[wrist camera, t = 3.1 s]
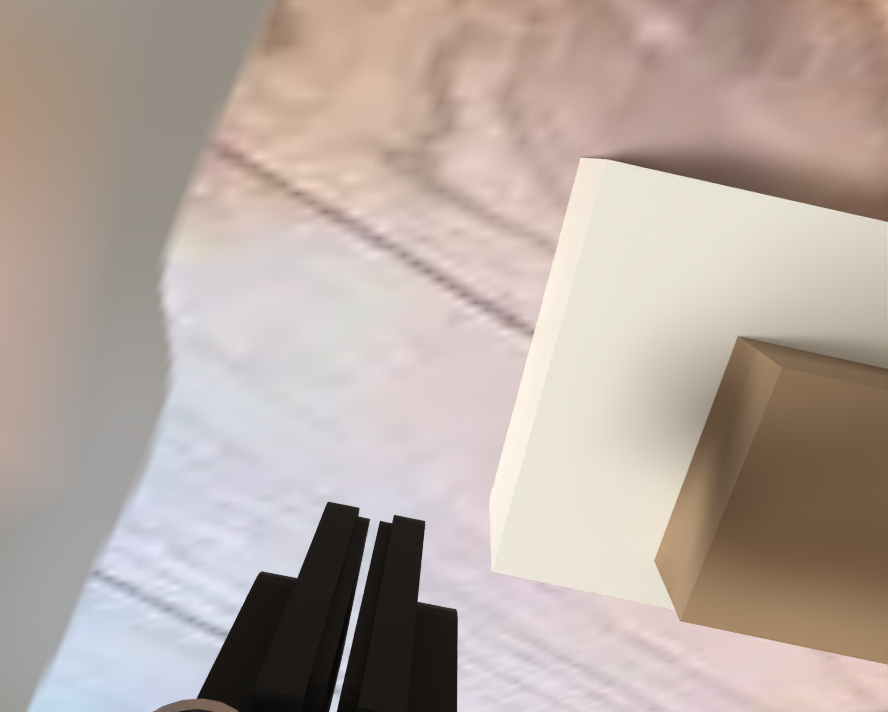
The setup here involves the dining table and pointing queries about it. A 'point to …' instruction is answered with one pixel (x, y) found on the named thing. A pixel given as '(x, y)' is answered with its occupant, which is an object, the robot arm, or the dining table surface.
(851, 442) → the block
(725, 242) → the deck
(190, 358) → the dining table surface
